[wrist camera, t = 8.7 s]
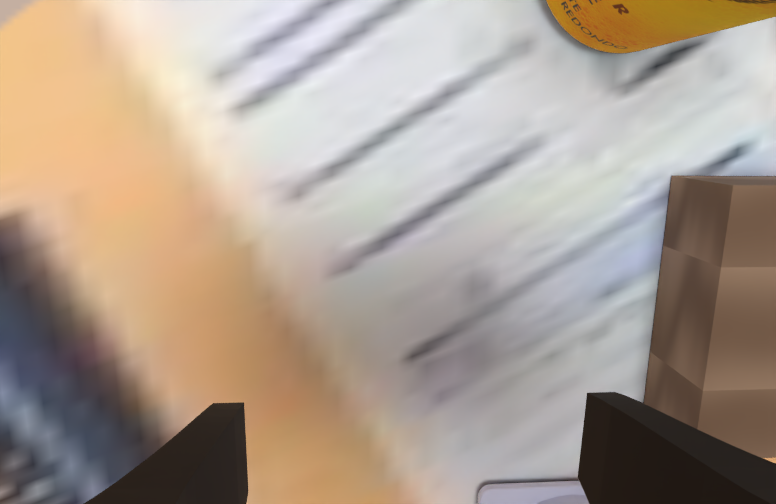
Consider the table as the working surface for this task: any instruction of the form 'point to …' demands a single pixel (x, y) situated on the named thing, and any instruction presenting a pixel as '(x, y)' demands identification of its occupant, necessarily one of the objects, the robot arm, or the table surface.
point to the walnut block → (718, 311)
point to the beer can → (652, 20)
